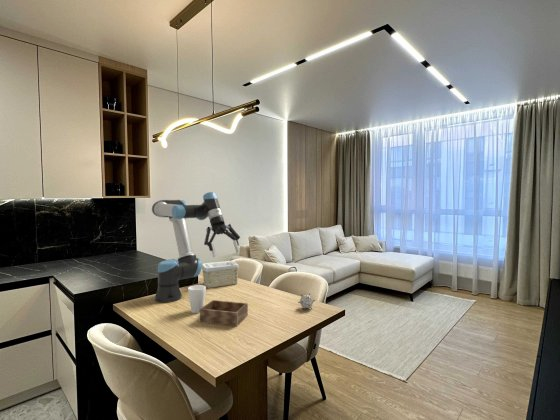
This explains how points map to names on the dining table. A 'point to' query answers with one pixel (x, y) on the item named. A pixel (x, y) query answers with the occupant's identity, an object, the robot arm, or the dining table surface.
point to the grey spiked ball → (306, 301)
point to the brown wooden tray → (224, 313)
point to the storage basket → (220, 273)
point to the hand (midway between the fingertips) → (226, 254)
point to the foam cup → (196, 297)
